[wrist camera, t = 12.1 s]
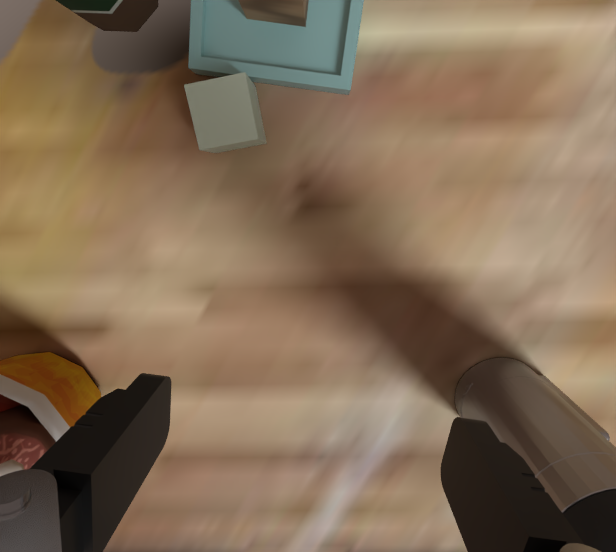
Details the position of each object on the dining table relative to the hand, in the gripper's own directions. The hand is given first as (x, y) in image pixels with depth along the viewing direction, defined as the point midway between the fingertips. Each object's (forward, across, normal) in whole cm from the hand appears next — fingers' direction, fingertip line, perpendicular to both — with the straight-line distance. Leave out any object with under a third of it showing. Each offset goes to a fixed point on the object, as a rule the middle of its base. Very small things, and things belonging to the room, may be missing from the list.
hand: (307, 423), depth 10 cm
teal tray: (+28, +6, -21) cm, 36 cm away
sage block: (+28, +9, -10) cm, 31 cm away
